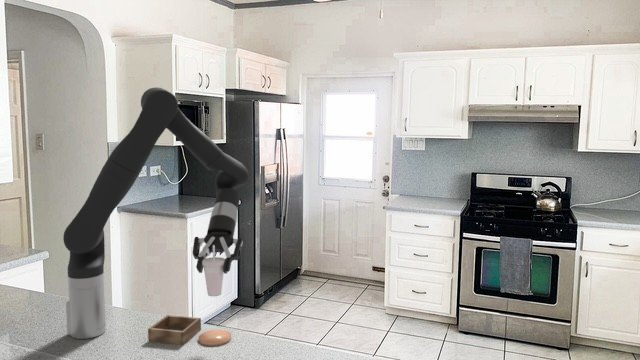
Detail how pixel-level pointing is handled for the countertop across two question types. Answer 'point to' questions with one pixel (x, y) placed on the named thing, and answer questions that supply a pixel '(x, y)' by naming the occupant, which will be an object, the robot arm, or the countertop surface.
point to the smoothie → (214, 274)
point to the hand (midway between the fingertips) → (212, 271)
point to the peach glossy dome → (215, 337)
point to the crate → (173, 336)
